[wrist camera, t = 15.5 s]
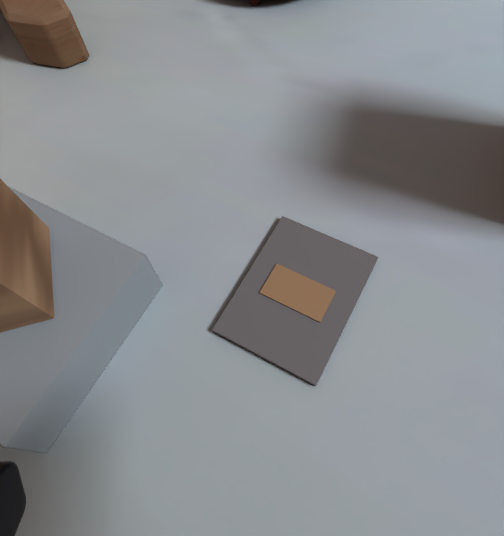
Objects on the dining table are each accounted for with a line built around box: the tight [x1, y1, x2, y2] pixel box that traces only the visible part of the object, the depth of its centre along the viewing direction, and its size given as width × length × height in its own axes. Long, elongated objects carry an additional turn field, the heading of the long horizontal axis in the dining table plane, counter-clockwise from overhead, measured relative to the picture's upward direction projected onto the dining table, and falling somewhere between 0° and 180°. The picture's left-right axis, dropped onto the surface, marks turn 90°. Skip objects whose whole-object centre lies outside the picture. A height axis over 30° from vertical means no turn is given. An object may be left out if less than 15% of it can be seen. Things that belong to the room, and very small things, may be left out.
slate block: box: [0, 187, 163, 453], centre depth 23 cm, size 10×10×4 cm
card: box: [212, 216, 378, 386], centre depth 24 cm, size 8×6×1 cm
